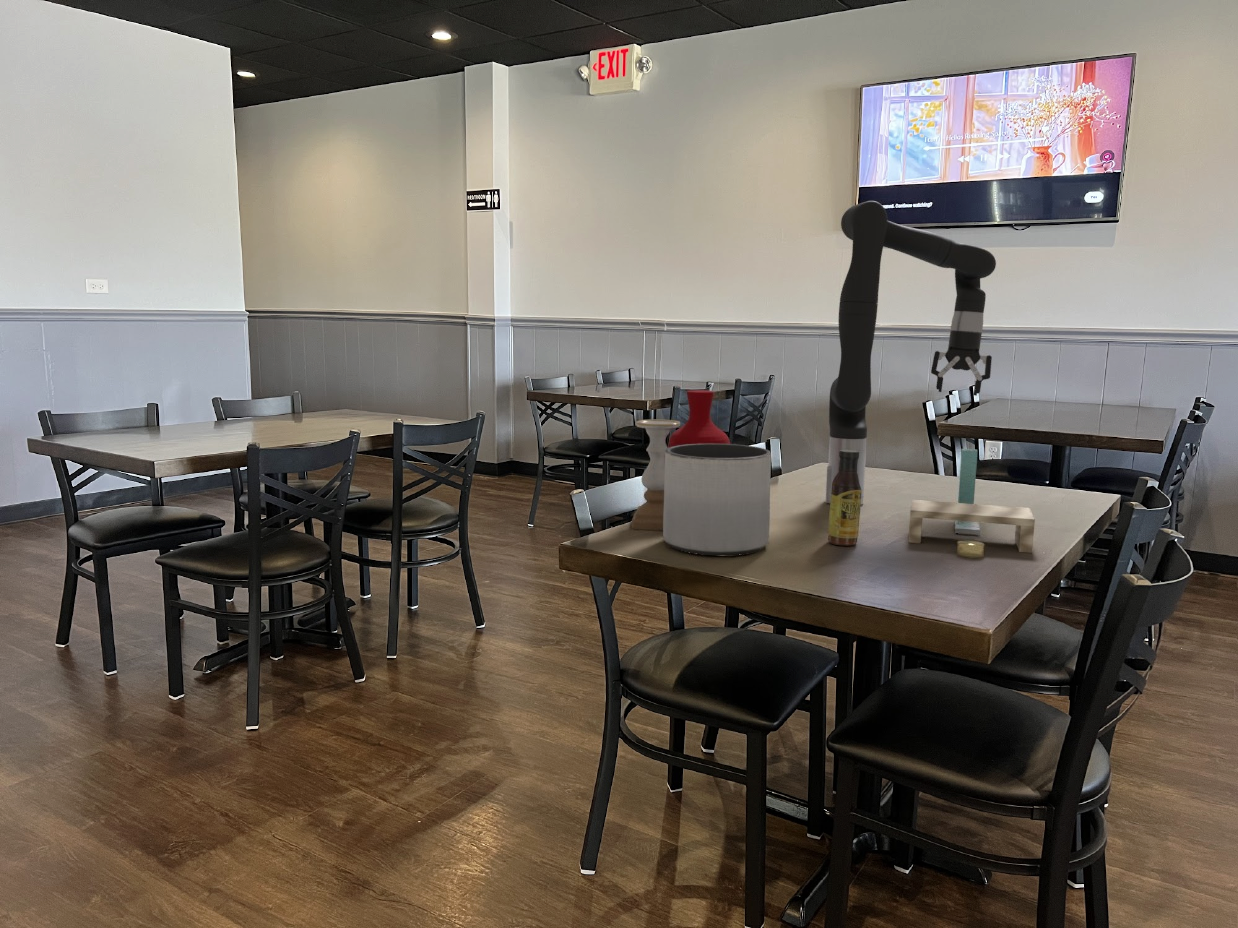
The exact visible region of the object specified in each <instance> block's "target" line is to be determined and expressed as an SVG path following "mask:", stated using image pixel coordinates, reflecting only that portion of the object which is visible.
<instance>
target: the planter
mask: <svg viewBox="0 0 1238 928" xmlns="http://www.w3.org/2000/svg"><path fill="white" fill-rule="evenodd" d="M771 465H772V452H771V451H770V450H769V449H766V448H763V447H758V446H752V445H745V444H736V443H730V444H687V445H678V446H673V447H670V448H667V449H666V450H665V483H664V514H663V531H662V535H663V540H664V542H665V543H666V544H668V546H670V547H671V548H673V549H676V550H677V549H678V550H677V551H679V550H682V551H681V552H683V551H686V552H690V553H689V554H691V553H697V554H703V555H702V556H705V555H737V556H740V555H739V554H745V555H748V554H747V553H750V554H753V553H756V552H758V551H760V550H762V549H763V548H765V547H767V545H768V543H769V539H770V522H771V520H770V517H771V516H770V515H771V512H770V511H771V470H772V469H771V468H772V467H771ZM755 551H756V552H755ZM686 552H685V553H686ZM752 552H753V553H752ZM697 554H696V555H697Z"/></svg>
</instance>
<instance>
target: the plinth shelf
mask: <svg viewBox="0 0 1238 928" xmlns="http://www.w3.org/2000/svg"><path fill="white" fill-rule="evenodd" d="M909 511H910V513H909V514H910V515H909V529H908V530H909V531H908V543H911V544H912V543H913V544H921V542H922V528H923V519H929V520H930V519H931V520H944V521H954V522H955V521H967V522H978V523H980V524H981V523H982V524H996V525H1008V526H1009V525H1010V526H1015V530H1014V531H1015V532H1014V541H1015V543H1016V546H1017V550H1018V552H1019V553H1028V554H1030V553H1031V554H1032V553H1033V547H1034V546H1033V545H1034V537H1035V536H1034V535H1035V534H1034V533H1035V522H1036V518H1035V517H1034V515H1033V513H1032V510H1031V508H1030V507H1020V506H1006V505H1005V506H1004V505H993V504H992V505H991V504H979V503H977V504H976V503H974V504H966V503H958V502H949V501H937V500H936V501H935V500H923V499H922V500H921V499H919V500H918V499H912V500H911V505H910V510H909Z"/></svg>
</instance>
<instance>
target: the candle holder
mask: <svg viewBox="0 0 1238 928" xmlns="http://www.w3.org/2000/svg"><path fill="white" fill-rule="evenodd" d="M635 426H636V427H637V428H642V429H645V431H646V434H647V435H648V437H649V444H648V446H647V448H646V452H647V453H648V456H649V458H650V459H649V460H650V461H649V463H648V465H647V467H646V468H645V470H644V471H643V473H642V476H641V484H642V486H644V487H645V488H646V489H647V490H646V491H645V492H644V493H643V498H644V500H645V501H646V502H645V503H643V504H641V505H640V506H638V507H637V508H636V511H635V512H634V514H633V516H632V519H631V530H636V531H638V530H639V531H661V530H663V514H664V483H665V450H666V449H667V448H668V447H669V446H668V445H667V443H666V439H667V436H668V435H669V434H670V432H671V429H677V428H681V426H682V425H681V421H679V420H674V419H653V418H652V419H640V420H636V421H635Z"/></svg>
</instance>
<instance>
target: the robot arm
mask: <svg viewBox="0 0 1238 928" xmlns="http://www.w3.org/2000/svg"><path fill="white" fill-rule="evenodd" d="M840 227H841V231H842V233H843V234H844V236H845V237H846V238H848V239H849V240H851V241H852V249H851V250H852V251H851V259H850V260H851V261H850V265H849V268H848V271H847V273H846V276H845V279H844V282H843V284H842V288H841V292H840V296H839V297H840V298H839V303H838V304H839V306H838V333H839V334H838V335H839V343H840V364H839V369H838V376H837V378H835V379H834V380H833V382H832V384H831V386H830V390H829V403H828V404H829V406H828V408H829V409H828V410H829V411H828V419H829V420H828V424H829V441H828V442H829V447H828V465H827V467H826V480H825V481H826V483H825V504H830V499H831V493H832V482H833V480H834V478H835V476H836V475H837V474H838V472H839V462H840V457H839V451H840V450H856V451H859V458H858V463H857V474H858V478H859V483H860V487H861V490H862V493H861V505H863V504H864V498H865V476H866V461H867V460H866V457H867V455H866V454H867V438H868V437H867V436H868V427H867V421H866V419H867V418H866V413H867V411H866V410H867V409H866V408H867V407H866V406H867V405H868V403H869V402H870V400H871V395H872V378H871V377H872V376H871V374H872V371H871V370H872V367H871V366H872V365H871V363H872V362H871V361H872V351H873V344H874V338H875V333H876V325H877V316H878V305H879V304H878V303H879V289H880V288H879V287H880V279H881V278H880V275H881V262H882V261H881V260H882V255H883V249H884V248H887V249H890V250H894V251H896V252H900V253H903V254H905V255H908V256H911V257H913V258H916V259H918V260H921V261H923V262H925V263H929V264H931V265H933V266H937V267H939V268H944V269H953V270H954V281H955V292H956V298H955V304H954V312H953V316H952V319H951V325H950V332H949V337H948V339H949V340H948V346H947V347H948V348H947V351H943V352H941V351H938V350H936V351H935V352H934V355H933V360H932V365H931V369H930V373H931V375H935V376H936V377H937V379H936V386H935V388H936V390H938V393H942V391H943V382H944V375H946V374H947V372H948V371H950V369H953V370H957V371H958V370H962V371H971V372H972V375H974V378H976V379H975V380H974V381H975V382H974V387H973V395H972V396H977V395H978V394H980V392H981V388H982V381H986V380H989V379H990V378H991V373H992V370H991V369H992V362H993V361H992V358H993V357H992V355H989V354H988V355H981V354H980V350H981V349H980V347H981V342H982V341H981V340H982V334H983V329H984V313H985V305H986V297H987V296H986V292H985V291H984V290H983V289H981V279H985V278H987V277H989V276H990V275H992V274H993V272H994V271H995V270H996V267H997V261H996V258H995V256H994V255H993V254H992V252H991V251H989V250H987V249H985V248H982V247H978V246H976V245H975V246H974V245H971V244H966V243H961V242H959V241H958V242H957V241H955V240H952V239H950V238H948V237H945V236H942V235H941V234H938V233H935V232H931V231H928V230H924V229H919V228H914V227H909V226H905V225H901V224H898V223H895V222H893V221H890V220H888V214H887V211H886V209H885V207H884V206H883V205H882V203H880V202H878V201H875V200H867V201H864V202H861V203H857V204H855V205H852V206H851V207H849V208H848V209H847V210H846V211H845V212H844V213H843V214H842V216H841V221H840ZM944 357H945V358H946V361H947V362H948V363H947V364H946V365H945V366H944V367H943V368H942V369H941V370H940V371H939V370H937V369H938V363H939V361H941V360H942V359H943V358H944ZM980 360H981V361H982V364H984V365H985V367H984V374H980V371H979V370H978V368H977V367H976V364H977V363H979V361H980Z"/></svg>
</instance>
